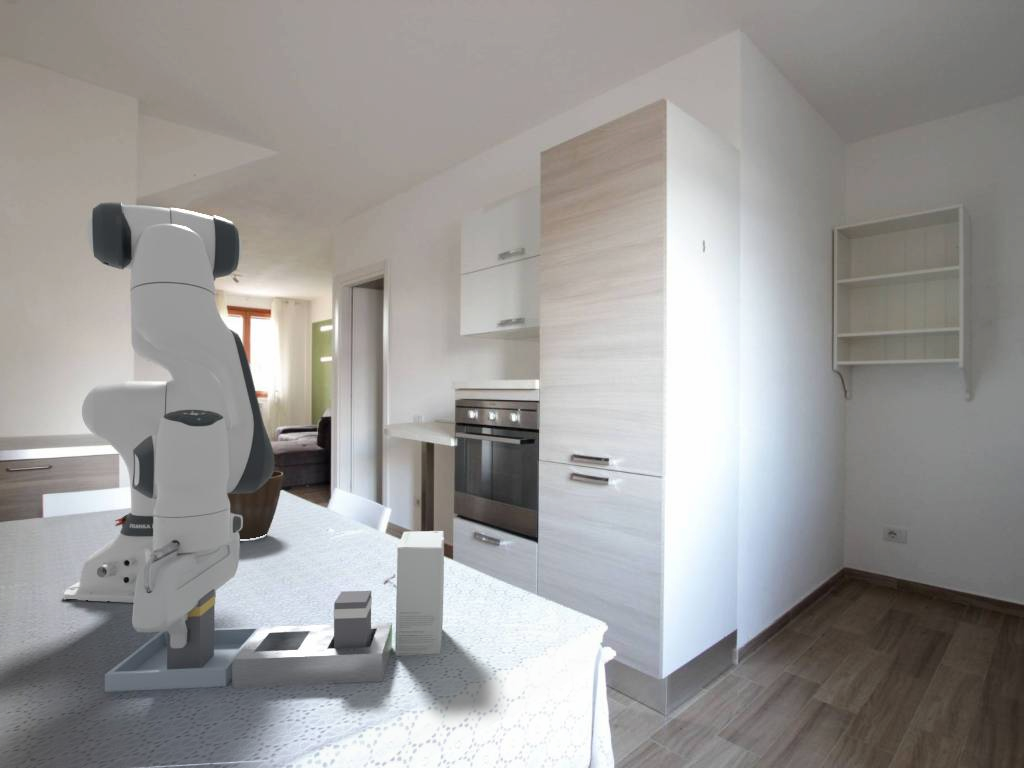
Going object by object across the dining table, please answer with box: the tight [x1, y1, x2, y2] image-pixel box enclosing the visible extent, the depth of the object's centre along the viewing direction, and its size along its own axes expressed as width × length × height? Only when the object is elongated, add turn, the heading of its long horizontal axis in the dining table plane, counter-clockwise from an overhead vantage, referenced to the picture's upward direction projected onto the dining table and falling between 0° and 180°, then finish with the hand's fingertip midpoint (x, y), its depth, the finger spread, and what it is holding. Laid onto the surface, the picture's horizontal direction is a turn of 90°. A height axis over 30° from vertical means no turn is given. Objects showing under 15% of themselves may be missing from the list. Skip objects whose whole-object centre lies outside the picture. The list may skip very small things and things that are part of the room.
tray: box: [104, 626, 262, 693], centre depth 70 cm, size 14×12×3 cm
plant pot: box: [227, 470, 284, 539], centre depth 135 cm, size 15×15×16 cm
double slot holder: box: [231, 622, 393, 689], centre depth 70 cm, size 18×9×4 cm, turn 95°
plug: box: [167, 589, 216, 669], centre depth 71 cm, size 4×4×9 cm
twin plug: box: [333, 590, 373, 648], centre depth 70 cm, size 4×4×9 cm
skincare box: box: [394, 530, 445, 656], centre depth 77 cm, size 8×7×16 cm
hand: (191, 636), depth 70 cm, fingers closed on plug, 4 cm apart
